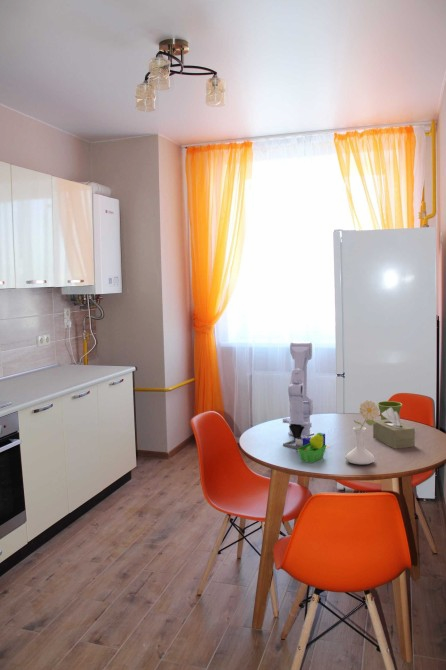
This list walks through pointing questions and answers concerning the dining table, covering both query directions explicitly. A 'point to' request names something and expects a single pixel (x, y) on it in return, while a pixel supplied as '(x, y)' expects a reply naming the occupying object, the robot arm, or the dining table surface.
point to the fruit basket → (313, 449)
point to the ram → (300, 440)
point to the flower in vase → (359, 452)
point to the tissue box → (393, 431)
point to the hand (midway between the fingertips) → (297, 441)
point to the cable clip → (307, 441)
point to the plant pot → (387, 404)
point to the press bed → (293, 445)
